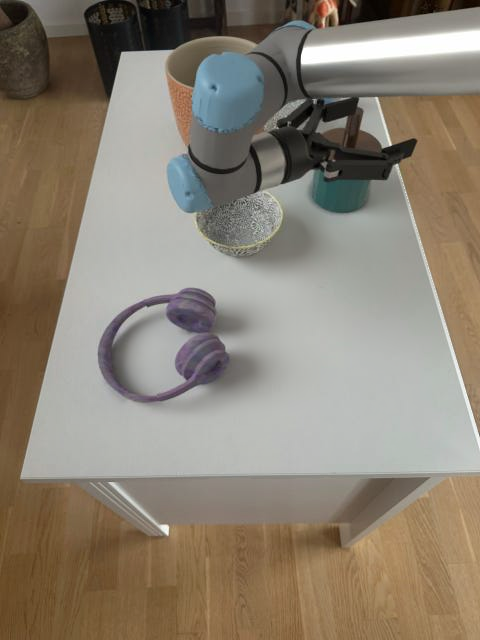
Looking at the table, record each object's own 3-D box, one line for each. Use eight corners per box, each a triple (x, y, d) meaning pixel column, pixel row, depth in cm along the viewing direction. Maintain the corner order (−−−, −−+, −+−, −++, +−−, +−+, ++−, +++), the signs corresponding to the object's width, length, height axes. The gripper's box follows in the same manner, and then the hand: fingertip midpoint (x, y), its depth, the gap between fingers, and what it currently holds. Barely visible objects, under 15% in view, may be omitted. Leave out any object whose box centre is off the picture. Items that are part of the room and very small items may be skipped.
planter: (283, 158, 100) (289, 73, 84) (198, 186, 95) (188, 102, 79) (243, 111, 110) (242, 27, 94) (165, 134, 105) (150, 50, 89)
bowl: (240, 288, 80) (239, 261, 74) (181, 244, 86) (176, 215, 80) (297, 241, 86) (300, 212, 80) (238, 202, 92) (237, 173, 86)
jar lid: (376, 180, 81) (389, 137, 73) (307, 168, 83) (313, 126, 75) (384, 138, 87) (396, 95, 80) (320, 128, 89) (326, 86, 82)
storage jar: (375, 205, 91) (389, 162, 82) (323, 218, 89) (331, 175, 81) (352, 170, 97) (362, 127, 88) (302, 181, 95) (308, 138, 87)
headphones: (216, 295, 78) (108, 327, 79) (205, 267, 71) (87, 303, 72) (239, 388, 69) (116, 424, 69) (229, 366, 62) (93, 406, 62)
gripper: (228, 139, 73) (330, 111, 80) (319, 231, 60) (429, 188, 68) (230, 93, 67) (340, 67, 74) (332, 185, 54) (451, 143, 62)
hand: (383, 125), depth 71 cm, fingers open, 13 cm apart
